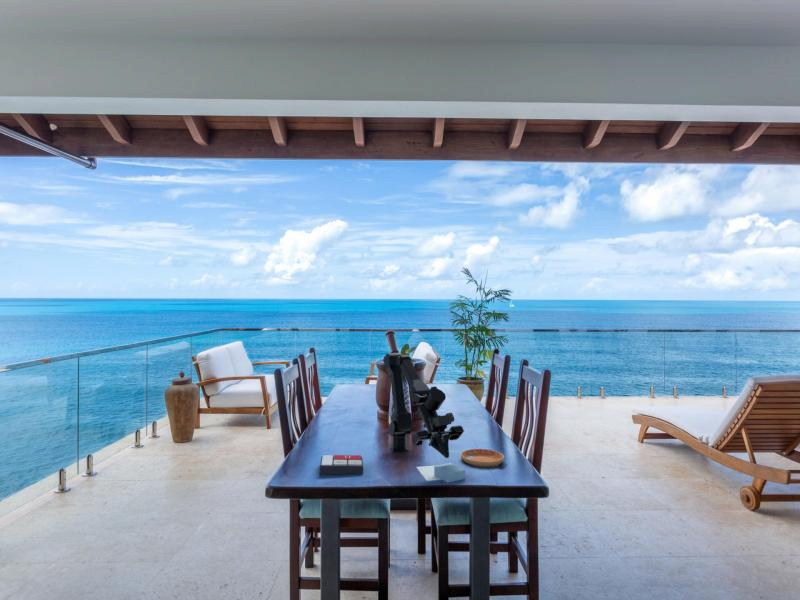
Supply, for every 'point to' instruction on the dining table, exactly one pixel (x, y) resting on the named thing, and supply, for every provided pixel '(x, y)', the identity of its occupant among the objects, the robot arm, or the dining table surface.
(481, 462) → the saucer
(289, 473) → the dining table surface
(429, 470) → the mat
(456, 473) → the box
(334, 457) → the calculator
